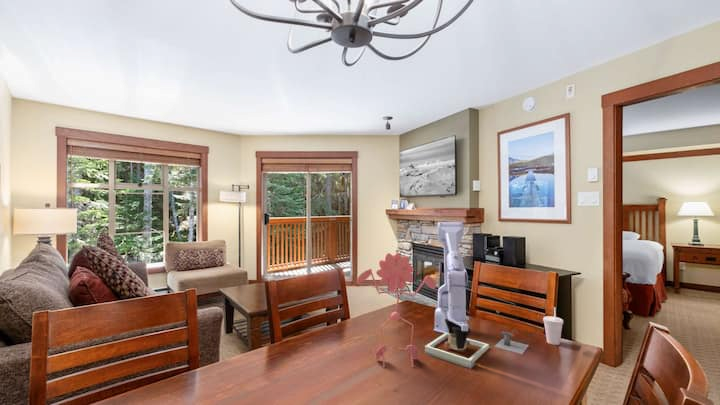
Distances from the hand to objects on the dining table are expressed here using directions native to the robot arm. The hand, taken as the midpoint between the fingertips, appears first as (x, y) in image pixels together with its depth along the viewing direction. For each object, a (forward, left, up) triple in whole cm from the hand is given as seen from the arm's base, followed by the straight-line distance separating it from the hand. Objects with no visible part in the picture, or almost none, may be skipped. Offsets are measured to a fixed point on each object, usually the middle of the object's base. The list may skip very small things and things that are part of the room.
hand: (457, 344), depth 113 cm
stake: (+14, +15, -3) cm, 20 cm away
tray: (0, 0, -3) cm, 3 cm away
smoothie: (+24, +28, -3) cm, 37 cm away
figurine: (-14, -17, -3) cm, 22 cm away
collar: (0, 0, -1) cm, 1 cm away
